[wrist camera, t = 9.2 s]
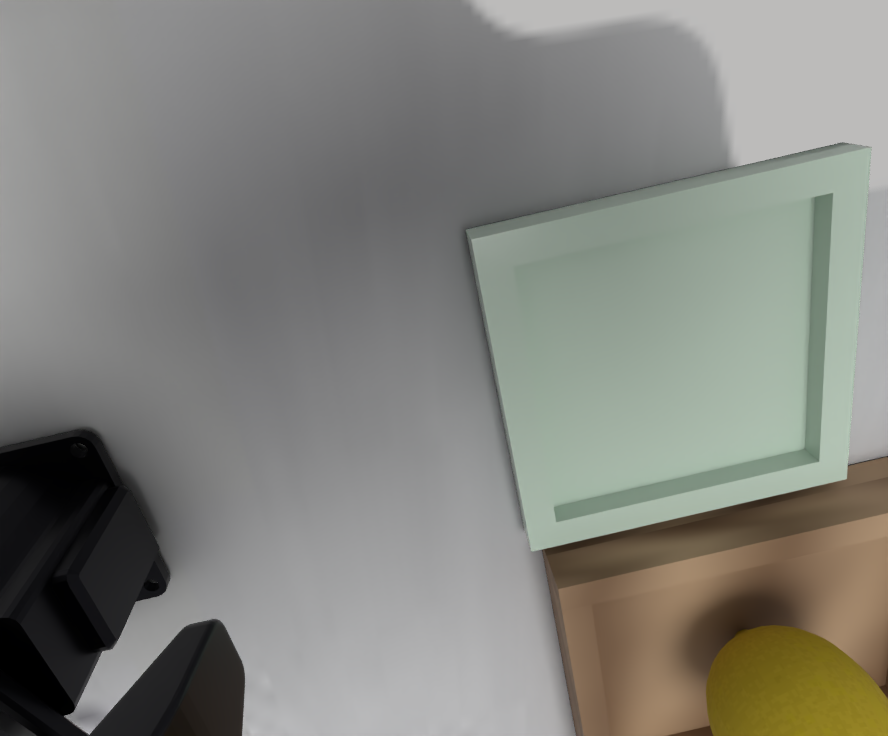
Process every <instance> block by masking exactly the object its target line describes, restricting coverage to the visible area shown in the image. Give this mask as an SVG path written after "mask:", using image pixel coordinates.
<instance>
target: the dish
mask: <svg viewBox="0 0 888 736" xmlns="http://www.w3.org/2000/svg"><path fill="white" fill-rule="evenodd" d="M870 159H871V147H868V146H862V145H855V144H848V143H838V144H834V145H830V146H825V147H821V148H816V149H813V150H808V151H803V152H799V153H795V154H791V155H786V156H782V157H778V158H773V159H769V160H765V161H760V162H756V163H752V164H747V165H743V166H739V167H734V168H730V169H726V170H721V171H717V172H713V173H708V174H704V175H700V176H695V177H691V178H687V179H682V180H678V181H674V182H669V183H665V184H661V185H657V186H652V187H648V188H644V189H639V190H635V191H631V192H626V193H622V194H618V195H613V196H609V197H605V198H600V199H596V200H592V201H587V202H583V203H579V204H574V205H570V206H566V207H561V208H557V209H553V210H548V211H544V212H540V213H535V214H531V215H527V216H523V217H518V218H514V219H510V220H505V221H501V222H497V223H492V224H488V225H484V226H479V227H475V228H471V229H466V234H467V239H468V245H469V250H470V255H471V260H472V265H473V270H474V275H475V280H476V286H477V291H478V296H479V301H480V306H481V311H482V316H483V321H484V326H485V332H486V337H487V342H488V347H489V352H490V357H491V362H492V367H493V373H494V378H495V383H496V388H497V393H498V398H499V403H500V408H501V413H502V419H503V424H504V429H505V434H506V439H507V444H508V449H509V454H510V460H511V465H512V470H513V475H514V480H515V485H516V490H517V495H518V501H519V506H520V511H521V516H522V521H523V526H524V530H525V534H526V537H527V540H528V543H529V546H530V549H531V552H533V551H538V550H542V549H546V548H551V547H555V546H559V545H564V544H568V543H572V542H577V541H581V540H585V539H590V538H594V537H598V536H603V535H607V534H611V533H616V532H620V531H624V530H629V529H633V528H637V527H642V526H646V525H650V524H655V523H659V522H663V521H668V520H672V519H676V518H681V517H685V516H689V515H694V514H698V513H702V512H707V511H711V510H715V509H720V508H724V507H728V506H733V505H737V504H741V503H746V502H750V501H754V500H759V499H763V498H767V497H772V496H776V495H780V494H785V493H789V492H793V491H798V490H802V489H806V488H811V487H815V486H819V485H824V484H828V483H832V482H837V481H841V480H845V479H847V469H848V456H849V442H850V429H851V416H852V402H853V389H854V375H855V362H856V349H857V335H858V322H859V308H860V295H861V282H862V268H863V255H864V241H865V228H866V214H867V201H868V188H869V174H870Z"/></svg>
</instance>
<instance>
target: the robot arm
mask: <svg viewBox="0 0 888 736" xmlns="http://www.w3.org/2000/svg"><path fill="white" fill-rule="evenodd" d="M76 444H82V445H84V446H85V447H86V448H87V449H88V451H83V450H80V449H79V448H78V447H77V446H76ZM158 551H159V546H158V544H157V542H156V540H155V538H154V536H153V534H152V532H151V530H150V528H149V526H148V524H147V522H146V520H145V518H144V516H143V514H142V512H141V510H140V508H139V507H138V505H137V503H136V501H135V499H134V497H133V495H132V493H131V491H130V490H129V489H128V488H126V487H125V486H124V485H123V483H122V481H121V479H120V477H119V475H118V474H117V472H116V470H115V468H114V466H113V464H112V462H111V460H110V458H109V456H108V454H107V452H106V450H105V448H104V446H103V444H102V442H101V441H100V439H99V438H98V437H97V435H95V434H94V433H92V432H91V431H87V430H75V431H71V432H67V433H62V434H58V435H54V436H49V437H45V438H41V439H36V440H32V441H28V442H23V443H19V444H15V445H10V446H6V447H2V448H0V736H242V727H243V709H244V691H245V673H244V667H243V664H242V661H241V659H240V657H239V655H238V653H237V650H236V648H235V646H234V644H233V642H232V640H231V638H230V636H229V634H228V632H227V630H226V628H225V626H224V625H223V623H222V622H221V621H220V620H217V619H211V620H207V621H202V622H198V623H194V624H190V625H188V626H186V627H184V628H183V629H182V630H181V631H180V632H179V634H178V635H177V636H176V637H175V638H174V639H173V640H172V641H171V643H170V644H169V645H168V646H167V647H166V648H165V649H164V651H163V652H162V653H161V654H160V655H159V656H158V657H157V659H156V660H155V661H154V662H153V663H152V664H151V665H150V667H149V668H148V669H147V670H146V671H145V672H144V673H143V674H142V676H141V677H140V678H139V679H138V680H137V681H136V682H135V684H134V685H133V686H132V687H131V688H130V689H129V690H128V692H127V693H126V694H125V695H124V696H123V697H122V698H121V700H120V701H119V702H118V703H117V704H116V705H115V706H114V708H113V709H112V710H111V711H110V712H109V713H108V714H107V715H106V717H105V718H104V719H103V720H102V721H101V722H100V723H99V725H98V726H97V727H96V728H95V729H94V730H93V731H92V733H91V734H90V735H89V734H87V733H86V732H84V731H83V730H82V729H80V728H79V727H78V726H76V725H75V724H74V723H72V722H71V721H70V720H68V719H67V718H66V717H64V715H68V714H70V713H73V712H74V710H75V708H76V706H77V704H78V702H79V700H80V698H81V695H82V693H83V691H84V689H85V687H86V685H87V683H88V680H89V678H90V676H91V674H92V672H93V670H94V668H95V666H96V663H97V661H98V659H99V657H100V655H101V653H102V651H105V650H110V649H112V648H113V647H114V646H115V644H116V643H117V641H118V639H119V637H120V635H121V633H122V631H123V628H124V626H125V624H126V622H127V619H128V617H129V615H130V613H131V611H132V608H133V606H134V604H135V602H136V601H140V600H144V599H148V598H153V597H157V596H160V595H162V594H163V593H164V592H165V591H166V589H167V586H168V584H169V581H170V575H169V572H168V571H167V569H166V567H165V565H164V563H163V561H162V559H161V557H160V555H159V553H158ZM149 580H154V581H157V582H158V583H153V582H150V581H149Z"/></svg>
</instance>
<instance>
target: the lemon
mask: <svg viewBox="0 0 888 736" xmlns="http://www.w3.org/2000/svg"><path fill="white" fill-rule="evenodd" d="M706 701H707V713H708V718H709V723H710V727H711V730H712V733H713V736H888V699H887V697H886V696H885V694H884V693H883V692H882V690H881V689H880V688H879V686H878V685H877V684H876V683H875V681H874V680H873V679H872V678H871V677H870V675H869V674H868V673H867V672H866V671H865V670H864V669H863V668H862V667H861V666H860V665H858V664H857V663H856V662H855V661H854V660H853V659H852V658H850V657H849V656H848V655H847V654H845V653H844V652H843V651H842V650H840V649H839V648H838V647H836V646H835V645H834V644H832V643H831V642H829V641H827V640H826V639H824V638H822V637H820V636H818V635H815V634H813V633H810V632H807V631H805V630H802V629H799V628H795V627H789V626H779V625H769V626H760V627H757V628H753V629H749V630H747V629H743V630H740V631H739V632H737V633H736V635H735V637H734V638H733V639H731V640H730V641H729V642H728V643H727V644H726V645H725V646H724V647H723V648H722V649H721V650H720V651H719V653H718V654H717V656H716V658H715V659H714V661H713V663H712V665H711V669H710V672H709V676H708V679H707V684H706Z"/></svg>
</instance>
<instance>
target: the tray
mask: <svg viewBox="0 0 888 736" xmlns="http://www.w3.org/2000/svg"><path fill="white" fill-rule="evenodd" d="M542 552H543V557H544V563H545V568H546V574H547V579H548V585H549V590H550V596H551V601H552V606H553V612H554V617H555V623H556V628H557V634H558V639H559V645H560V650H561V656H562V661H563V666H564V672H565V677H566V683H567V688H568V694H569V699H570V705H571V710H572V716H573V721H574V726H575V732H576V736H713V733H712V730H711V727H710V723H709V718H708V713H707V701H706V684H707V679H708V676H709V672H710V669H711V665H712V663H713V661H714V659H715V658H716V656H717V654H718V653H719V651H720V650H721V649H722V648H723V647H724V646H725V645H726V644H727V643H728V642H729V641H730V640H731V639H733V638H734V637H735V635H736V633H737V632H739V631H740V630H743V629H747V630H749V629H753V628H757V627H760V626H769V625H779V626H789V627H795V628H799V629H802V630H805V631H807V632H810V633H813V634H815V635H818V636H820V637H822V638H824V639H826V640H827V641H829V642H831V643H832V644H834V645H835V646H836V647H838V648H839V649H840V650H842V651H843V652H844V653H845V654H847V655H848V656H849V657H850V658H852V659H853V660H854V661H855V662H856V663H857V664H858V665H860V666H861V667H862V668H863V669H864V670H865V671H866V672H867V673H868V674H869V675H870V677H871V678H872V679H873V680H874V681H875V683H876V684H877V685H878V686H879V688H880V689H881V690H882V692H883V693H884V694H885V696H886V697H887V699H888V457H884V458H880V459H875V460H871V461H867V462H862V463H858V464H854V465H849V466H848V469H847V479H845V480H841V481H837V482H832V483H828V484H824V485H819V486H815V487H811V488H806V489H802V490H798V491H793V492H789V493H785V494H780V495H776V496H772V497H767V498H763V499H759V500H754V501H750V502H746V503H741V504H737V505H733V506H728V507H724V508H720V509H715V510H711V511H707V512H702V513H698V514H694V515H689V516H685V517H681V518H676V519H672V520H668V521H663V522H659V523H655V524H650V525H646V526H642V527H637V528H633V529H629V530H624V531H620V532H616V533H611V534H607V535H603V536H598V537H594V538H590V539H585V540H581V541H577V542H572V543H568V544H564V545H559V546H555V547H551V548H546V549H542Z"/></svg>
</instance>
